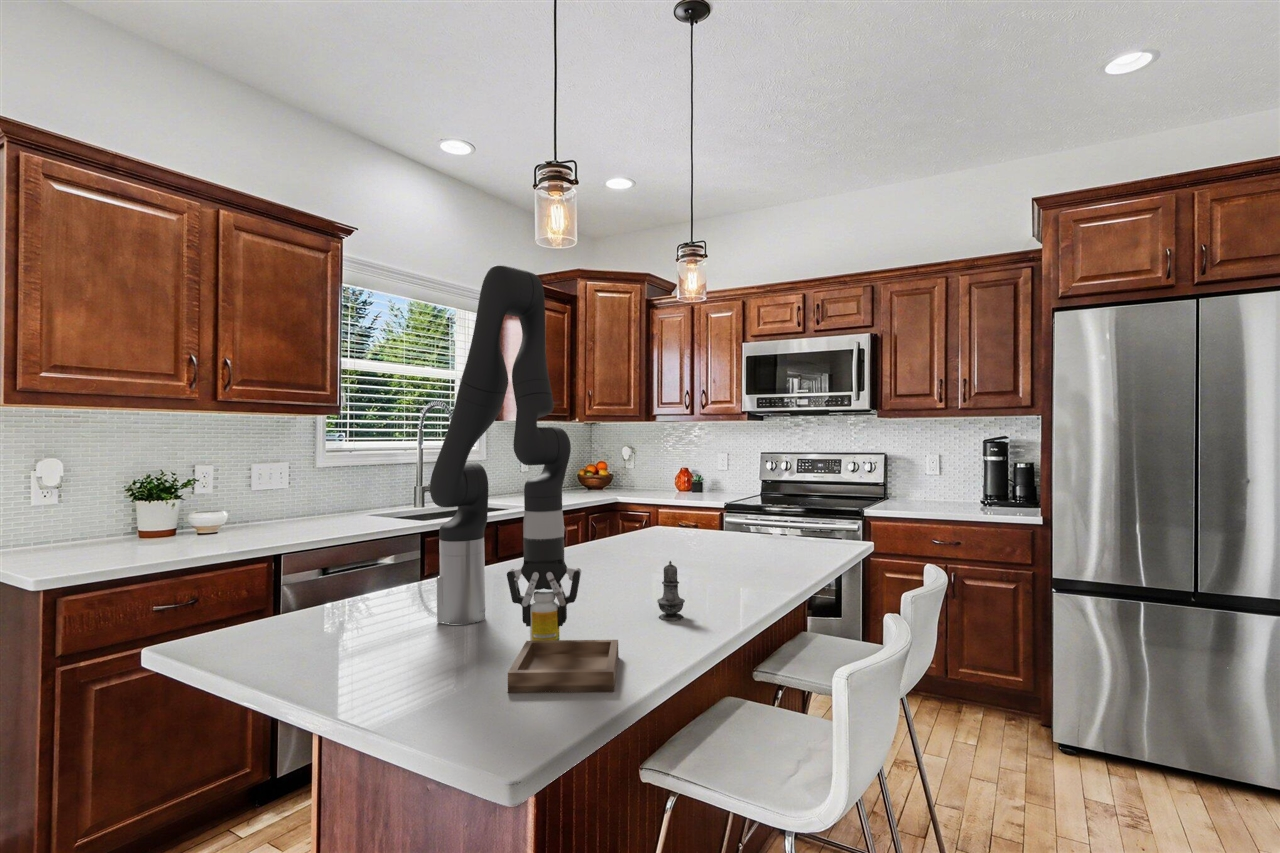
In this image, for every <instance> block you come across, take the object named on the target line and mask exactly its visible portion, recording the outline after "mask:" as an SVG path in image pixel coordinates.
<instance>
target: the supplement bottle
mask: <svg viewBox="0 0 1280 853" xmlns="http://www.w3.org/2000/svg"><path fill="white" fill-rule="evenodd" d="M556 599H557V597H556V596H555V594H554V592H553V590H547V589H541V590H535V591H534V593H533V601H534V602H533V603H532V604H531V607H530V626H529V627H530V628H529V629H530V631H529V632H530V635H529V636H530V640H529V641H544V640H560V626H558V606H559V603H557V601H555V600H556Z"/></svg>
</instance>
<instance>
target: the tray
mask: <svg viewBox="0 0 1280 853" xmlns="http://www.w3.org/2000/svg"><path fill="white" fill-rule="evenodd" d="M618 663H619V639H563V640H562V639H561V640H560V639H559V640H544V641H531V640H526V641H525V643H524V644H523V646H522V648H521V649H520V651H519V653H518V654H517V656H516V658H515V660H514V661H513V663H512V665H511V666H510V668H509V670H508V671H507V693H508V694H516V693H517V694H518V693H519V694H523V693H530V694H531V693H532V694H533V693H535V694H536V693H537V694H538V693H605V692H606V693H607V692H609V693H610V692H611V693H614V691H615V684H616V678H617V671H618Z"/></svg>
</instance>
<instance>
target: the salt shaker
mask: <svg viewBox="0 0 1280 853" xmlns="http://www.w3.org/2000/svg"><path fill="white" fill-rule="evenodd" d="M661 583H662V585H663V594H662V596H661V597H660V598H658V599H657V601H656V602H657V604H658V607H659V610H660V611H661V612H662V613H661V614H659V616H658V619H659V620H660V619H661V621H664V620H667V621H666V622H676V621H675V620H678V621H681V619H682V620H684V618H685V617H684V615H683V614H681V613H680V612H681V611H682V610H683V608H684V603H685V602H686V601H685V599H684V598H681V597H680V594H679V584H680V581H678V567H677V566H676V565H673V563H672V561H671V560H669V562H668V564H667V565H665V566H664V567H663V581H662V582H661Z"/></svg>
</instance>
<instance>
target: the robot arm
mask: <svg viewBox="0 0 1280 853" xmlns="http://www.w3.org/2000/svg"><path fill="white" fill-rule="evenodd" d="M480 288H481V289H480V293H479V298H478V304H477V311H476V316H475V322H474V328H473V334H472V339H471V342H470V346H469V351H468V354H467V359H466V362H465V365H464V366H465V367H464V369H463V372H462V375H461V379H460V383H459V387H458V390H457V394H456V399H455V403H454V408H453V411H452V414H451V417H450V422H449V426H448V428H447V431H446V434H445V437H444V440H443V443H442V446H441V448H440V451H439V454H438V455H437V456H438V457H437V458H436V461H435V464H434V467H433V470H432V472H431V478H430V481H429V494H430V497H431V500H432V502H433V503H434V504H435V506H438V507H440V508H456V507H457V509H456V510H457V511H456V513H455V514H454V516H453V517H451V519H449V520H448V521H446V522H445V523H443V524H442V525H440V527H439V529H438V530H439V531H438V532H439V533H438V536H439V537H438V538H439V544H438V545H439V546H438V547H439V548H438V549H439V550H438V551H439V575H438V576H437V577H436V623H437V622H444V623H449V624H466V625H470V624H469V623H473V624H476V623H475V622H477V623H480V622H482V621H484V620H485V619H486V576H485V575H486V572H485V571H486V570H485V567H486V565H485V563H486V562H485V559H486V558H485V529H486V526H487V522H488V514H489V512H488V510H489V509H488V508H489V478H488V475H487V472H486V469H485V468H484V466H483V465H482V464H481V463H479V462H475V461H468V457H469V455H470V453H471V451H472V449H473V447H474V446H475V444H476V443H477V442H478V441H479V439H480V438H481V437H482V436H483V435H484V434H485V433H486V432H487V430H488V429H489V428H490V427H491V426H492V425H493V424H494V422H495V421H496V420H497V418H498V417H499V415H500V413H501V411H502V407H503V405H504V401H505V398H506V394H507V391H508V386H509V374H508V370H507V365H506V362H505V359H504V356H503V351H502V347H501V333H502V328H503V322H504V319H505V316H510V317H516V318H518V320H519V323H520V327H521V331H522V332H521V333H522V335H521V336H522V337H521V342H520V343H521V344H520V346H519V349H518V352H517V354H516V357H515V359H514V362H513V366H512V370H511V382H512V390H513V395H514V396H513V397H514V401H515V406H516V413H515V414H516V415H515V425H514V426H515V427H514V434H513V435H514V436H513V445H512V446H513V452H514V454H515V455H514V456H515V457H516V458H517V460H518V461H519V463H521V464H522V465H525V466H543V469H542V471H541V473H540V474H539V475H538V476H536V477H533V478H530V479H528V480H527V481H525V484H524V488H523V492H524V493H523V496H524V498H523V499H524V500H523V501H524V502H523V503H524V511H523V512H524V515H523V520H522V522H523V523H522V524H523V525H522V526H523V528H522V532H523V538H522V539H523V563H522V566H521V568H518V569H515V568H510V570H508V571H507V572H506V578H507V583H508V587H509V593H510V598H511V601H512V603H513V604H517V605H518V604H519V605H520V606H521V607H522V610H521V612H522V613H521V614H522V615H521V616H522V618H521V619H522V620H521V621H522V622H523V624H525V627H530V607H531V605H532V604H531V601H532V599H533V597H534V592H536V591H540V590H553V592H554V594H555V596H556V600H557V602H558V605H559V606H558V626H559V627H563V626H564V624H565V623H566V621H567V618H568V616H567V615H568V614H567V613H568V611H567V610H568V609H567V606H568V605H569V604H571V603H573V604H574V602H576V599H577V597H578V592H579V591H578V590H579V587H580V586H579V585H580V579H581V574H582V570H581V568H578V567H577V568H572V567H567V566H568V565H567V564H566V561H565V531H566V530H565V523H564V522H565V520H564V512H563V485H564V481H565V478H566V473H567V469H568V464H569V461H570V456H571V449H572V447H571V446H572V445H571V440H570V437H569V435H568V433H567V431H565V430H564V429H563V428H561V427H557V426H555V427H554V426H551V427H550V426H548V427H547V426H546V427H545V426H543V427H542V426H541V427H538V424H537V423H538V419H541V418H544V417H546V416H548V415H549V414H551V413H553V411H554V407H555V405H554V404H555V403H554V398H553V392H552V388H551V387H552V386H551V381H550V376H549V370H548V362H547V361H548V360H547V349H546V347H547V344H546V343H547V341H546V340H547V338H546V336H547V335H546V332H547V331H546V300H545V291H544V285H543V282H542V281H541V278H540V277H539V276H538V275H537V274H536V273H533V272H531V271H528V270H524V269H520V268H515V267H511V266H508V265H505V264H504V265H503V264H495V265H492V267H491V268H489V269H488V271H487V272H486V274H485V277H484V278H483V281H482V285H481V287H480ZM566 574H567V575H568V580H569V581H570V582H571V585H570V589H569V590H570V591H569V594H567V595H566V593H565V591H564V590H565V589H564V588H563V585H562V582H561V581H562V580H563V578H564V577H565V575H566ZM521 575H522V576H523V577H524V579H525V580H526V581H527V583H528V585H527V588H526V591H525V594H524V596H523V595H521V590H520V585H519V581H520V579H521ZM483 619H484V620H483ZM481 620H482V621H481ZM479 621H480V622H479Z"/></svg>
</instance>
